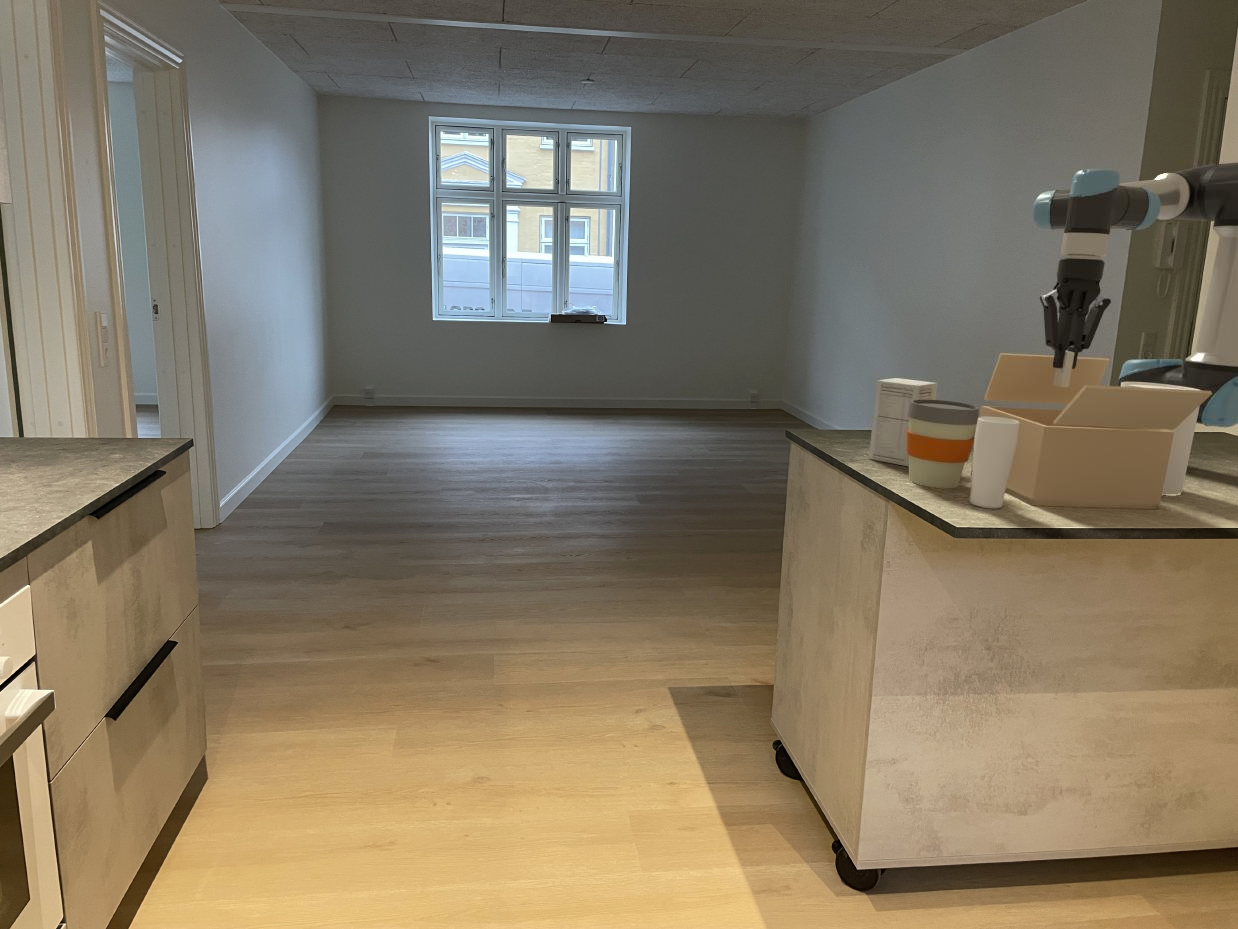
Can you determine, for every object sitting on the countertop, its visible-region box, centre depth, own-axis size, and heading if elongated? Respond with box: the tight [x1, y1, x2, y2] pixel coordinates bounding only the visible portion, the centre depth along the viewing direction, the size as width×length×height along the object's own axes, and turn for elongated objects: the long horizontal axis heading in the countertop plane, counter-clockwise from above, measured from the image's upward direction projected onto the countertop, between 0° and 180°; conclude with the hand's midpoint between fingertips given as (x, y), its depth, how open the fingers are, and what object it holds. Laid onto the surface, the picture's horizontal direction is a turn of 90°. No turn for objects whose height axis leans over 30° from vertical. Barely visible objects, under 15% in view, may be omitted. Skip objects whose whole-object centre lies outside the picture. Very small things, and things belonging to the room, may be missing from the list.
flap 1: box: [983, 352, 1110, 405], centre depth 172 cm, size 22×10×1 cm
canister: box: [1121, 382, 1200, 495], centre depth 173 cm, size 14×14×20 cm
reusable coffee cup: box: [907, 399, 980, 489], centre depth 166 cm, size 13×13×15 cm
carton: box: [970, 405, 1174, 510], centre depth 165 cm, size 24×22×14 cm
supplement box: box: [868, 377, 938, 467], centre depth 185 cm, size 10×9×17 cm
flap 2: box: [1053, 385, 1212, 430], centre depth 148 cm, size 22×10×1 cm
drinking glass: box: [969, 416, 1020, 510], centre depth 151 cm, size 7×7×15 cm
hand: (1060, 385), depth 167 cm, fingers closed
